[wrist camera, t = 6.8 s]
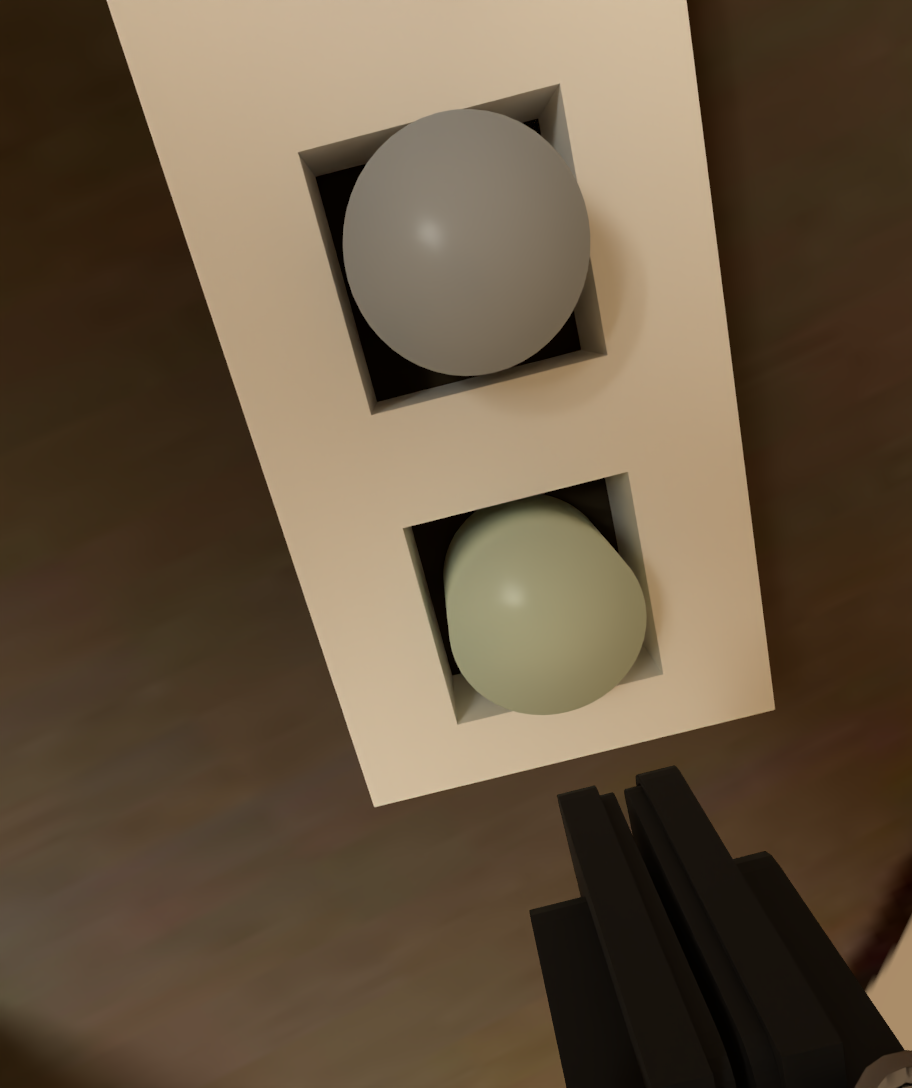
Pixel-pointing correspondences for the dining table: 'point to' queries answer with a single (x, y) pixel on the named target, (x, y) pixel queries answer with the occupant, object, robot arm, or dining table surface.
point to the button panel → (484, 401)
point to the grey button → (466, 242)
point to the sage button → (540, 607)
